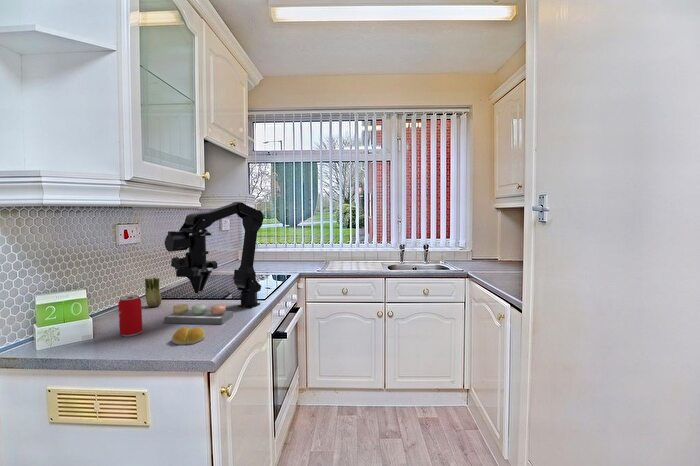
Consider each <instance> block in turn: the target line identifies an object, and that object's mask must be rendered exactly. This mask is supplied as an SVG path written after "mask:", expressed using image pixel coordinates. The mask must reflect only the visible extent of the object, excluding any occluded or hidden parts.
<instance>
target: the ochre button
mask: <svg viewBox="0 0 700 466" xmlns="http://www.w3.org/2000/svg"><path fill="white" fill-rule="evenodd" d="M188 310H189V304H187V303H179V304H175V305H173V306H172V313H184V312H187V311H188Z"/></svg>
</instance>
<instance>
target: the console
mask: <svg viewBox="0 0 700 466" xmlns="http://www.w3.org/2000/svg"><path fill="white" fill-rule="evenodd" d="M233 317H234V310H226V312H224V313H221V314H211V310H207V312H204V313H199V314H194V313H192V309H188V311H187V312H184V313H173V312H172V313H170V314H168V315H166V316H164V317H163V318H164V320H163V321H164V323H165V324H195V325H196V324H201V325H223V324H225V323H226V322H227V321H229V320H230V319H232V318H233Z"/></svg>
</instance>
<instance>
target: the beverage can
mask: <svg viewBox="0 0 700 466" xmlns="http://www.w3.org/2000/svg"><path fill="white" fill-rule="evenodd" d="M117 307H118V325H119V335H120V336H123V337H129V338H130V337H134V336H137V335H140V333H142V332H143V315H142V312H143V310H142V299H141V298H140V296H139V294H138V295H136V294H135V295H134V294H132V295H124V296H121V297H120V298H119V300H118V303H117Z"/></svg>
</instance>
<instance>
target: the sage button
mask: <svg viewBox="0 0 700 466" xmlns="http://www.w3.org/2000/svg"><path fill="white" fill-rule="evenodd" d="M207 307H208V306H207V304H205V303H204V304H203V303H202V304H201V303H200V304H194V305H192V306H191V310H192V313H194V314H199V313H204V312H207V311H208V308H207Z"/></svg>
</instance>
